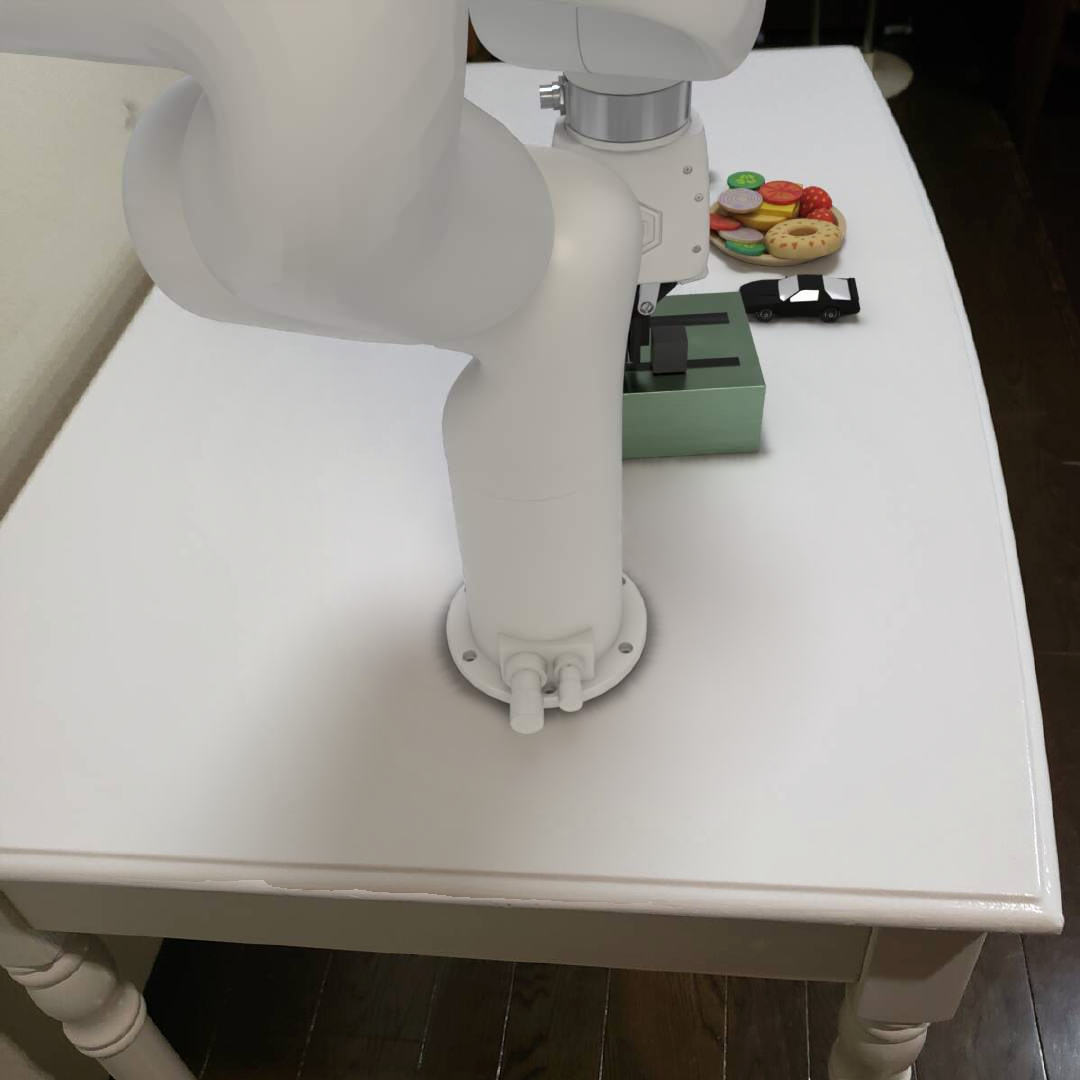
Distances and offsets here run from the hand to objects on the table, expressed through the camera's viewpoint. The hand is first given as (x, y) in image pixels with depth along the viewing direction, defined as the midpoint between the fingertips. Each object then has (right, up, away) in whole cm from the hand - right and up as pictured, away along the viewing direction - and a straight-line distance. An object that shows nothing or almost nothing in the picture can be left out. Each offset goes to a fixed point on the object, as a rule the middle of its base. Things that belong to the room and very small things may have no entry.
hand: (627, 352), depth 79 cm
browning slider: (+3, -1, +1) cm, 3 cm away
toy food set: (+15, +15, +24) cm, 32 cm away
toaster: (+4, -3, +7) cm, 8 cm away
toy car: (+15, +6, +15) cm, 23 cm away
